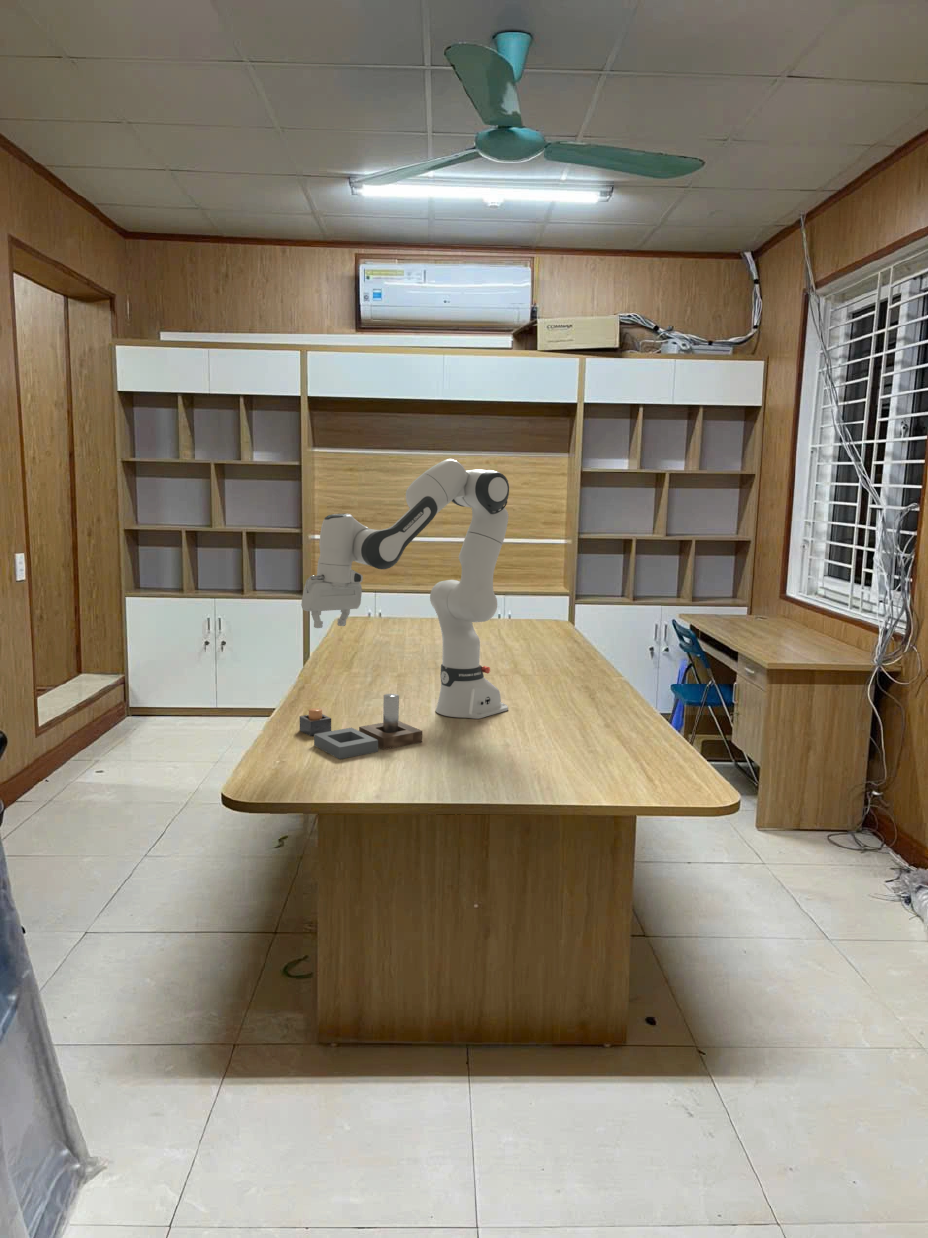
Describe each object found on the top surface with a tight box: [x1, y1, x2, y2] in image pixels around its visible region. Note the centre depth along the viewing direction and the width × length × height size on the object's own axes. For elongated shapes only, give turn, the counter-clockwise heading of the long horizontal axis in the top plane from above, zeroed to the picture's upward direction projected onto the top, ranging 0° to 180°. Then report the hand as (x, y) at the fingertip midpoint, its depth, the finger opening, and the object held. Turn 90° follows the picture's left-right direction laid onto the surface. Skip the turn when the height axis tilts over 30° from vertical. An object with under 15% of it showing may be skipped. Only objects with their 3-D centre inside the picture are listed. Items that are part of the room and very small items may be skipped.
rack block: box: [313, 727, 379, 760], centre depth 214 cm, size 11×13×3 cm
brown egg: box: [308, 707, 323, 720], centre depth 227 cm, size 4×4×4 cm
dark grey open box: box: [299, 713, 332, 737], centre depth 228 cm, size 6×6×4 cm
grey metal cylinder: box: [382, 693, 400, 733], centre depth 222 cm, size 4×4×12 cm
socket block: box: [358, 720, 424, 750], centre depth 222 cm, size 12×12×3 cm
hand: (329, 626), depth 225 cm, fingers open, 8 cm apart
